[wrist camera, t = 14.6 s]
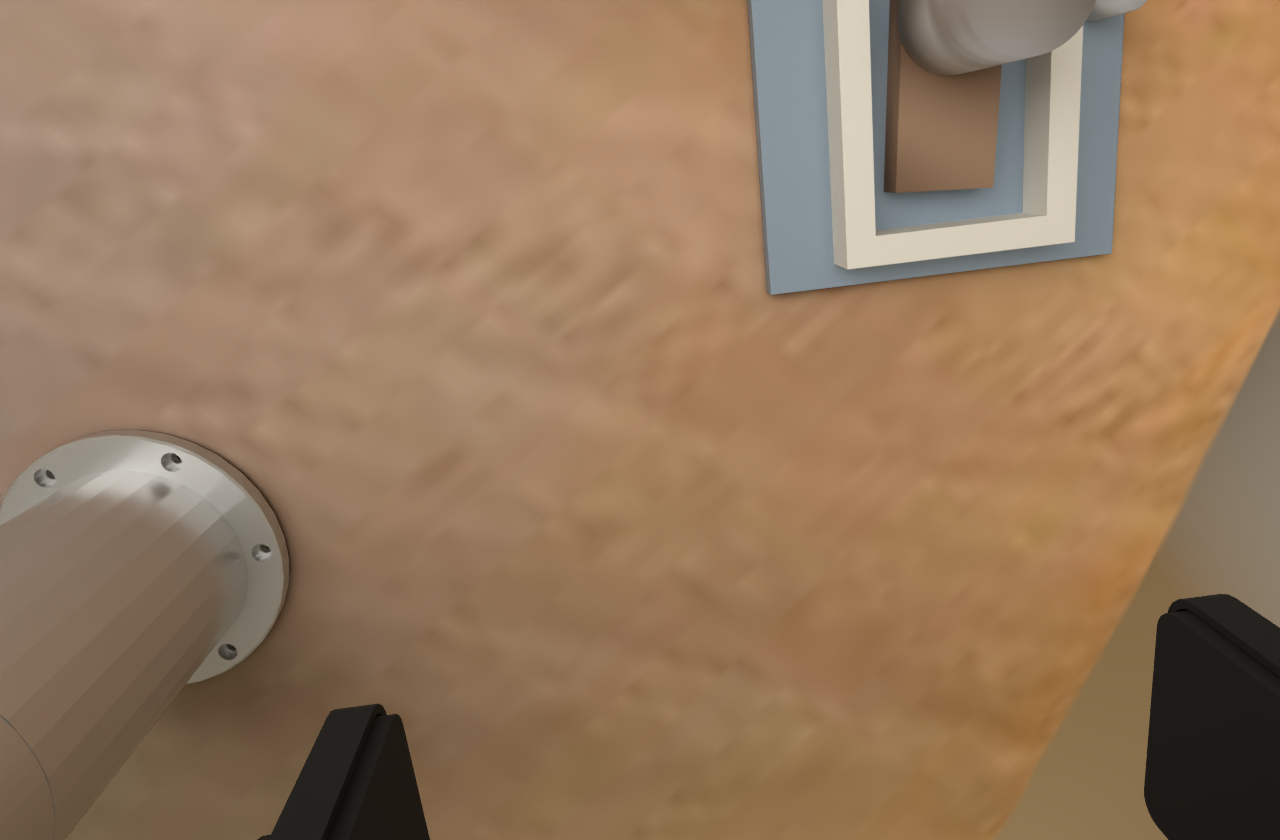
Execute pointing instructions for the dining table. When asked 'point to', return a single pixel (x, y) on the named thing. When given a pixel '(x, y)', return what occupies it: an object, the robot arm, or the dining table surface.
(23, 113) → the dining table surface
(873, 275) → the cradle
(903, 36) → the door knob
